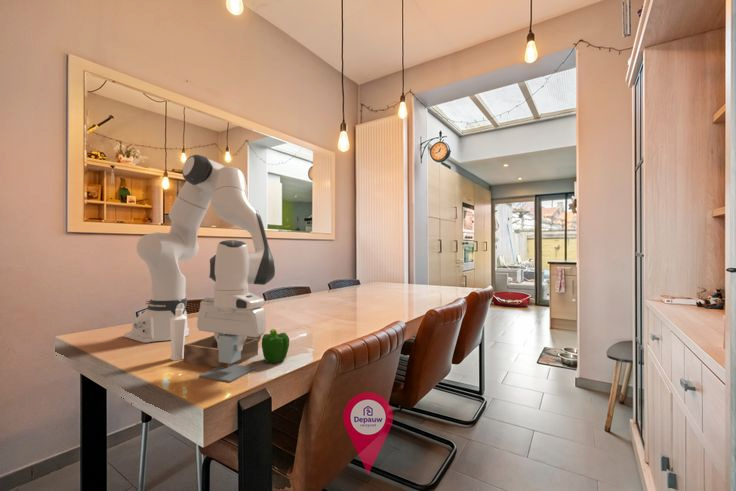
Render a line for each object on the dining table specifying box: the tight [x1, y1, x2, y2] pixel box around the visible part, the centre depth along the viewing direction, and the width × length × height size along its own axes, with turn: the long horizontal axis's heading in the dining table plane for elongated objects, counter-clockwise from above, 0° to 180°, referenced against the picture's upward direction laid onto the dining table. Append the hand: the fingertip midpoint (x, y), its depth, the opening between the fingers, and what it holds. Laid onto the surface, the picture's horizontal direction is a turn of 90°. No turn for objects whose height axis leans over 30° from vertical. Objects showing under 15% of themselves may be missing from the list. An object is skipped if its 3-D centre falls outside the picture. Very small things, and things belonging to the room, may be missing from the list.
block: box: [219, 334, 241, 364], centre depth 89 cm, size 4×4×7 cm
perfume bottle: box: [169, 309, 188, 362], centre depth 99 cm, size 5×4×15 cm
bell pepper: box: [261, 328, 290, 364], centre depth 99 cm, size 8×8×10 cm
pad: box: [198, 364, 256, 383], centre depth 89 cm, size 10×10×1 cm
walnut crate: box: [183, 334, 259, 368], centre depth 100 cm, size 16×14×5 cm
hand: (230, 349), depth 89 cm, fingers closed on block, 4 cm apart
